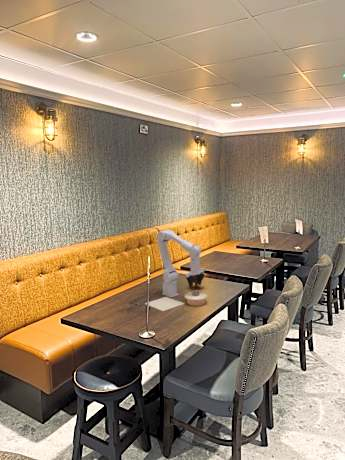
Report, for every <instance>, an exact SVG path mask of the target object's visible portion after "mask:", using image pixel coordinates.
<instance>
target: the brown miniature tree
mask: <svg viewBox="0 0 345 460" xmlns="http://www.w3.org/2000/svg"><path fill="white" fill-rule="evenodd" d="M189 272H191V270H190V271H189ZM192 277H193V278H194V280H193V284H194V286H193V287H192V289H193V290H200V289H201V287H200V285H199V286H198V281H197V275H194V276H192ZM204 277H205V276H204ZM204 277H203V279H202V281H203V280H204Z"/></svg>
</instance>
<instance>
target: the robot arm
mask: <svg viewBox="0 0 345 460" xmlns="http://www.w3.org/2000/svg"><path fill="white" fill-rule="evenodd" d="M156 237H157V246H158V250H159V252H160V256H161V260H162V263H163V267H164V270H163V272H162V274H163V278H162V279H163V282H162V293H161V295H164V296H165V297H168V298H173V297H176V296H179V295H180V293H178V292H177V291H178V289H177V288H178V285H177V283H178V282H177V281H178V280H179V277H180V276H179V275H180V274H179V273H178V271H177V269H176V268H175V267H173V264H172V263H173V262H172V259H171V256H170V252H169V249H168V245H167V244H168V242H169V241H170V240H172V241H173V242H175V243H177V244H179V245H180V247H181V248H182V249H183V250H185V251H186V252H187V253H188V254H189V258H190V271H191V272H190V271H189V272H187V273H185V279H186V280H187V284H188V286H189V288H191V289H193V287H194V286H193V285H194V282H193V280H194V278H193V277H192V276H194V275H197V281H198V284H197V285H199V286H201V285H202V281H203V280H204V278H203V277H205V270H204V269H200V267H201V266H200V264H201V262H200V257H201V256H200V255H201V253H202V248H201V247H200V246H199V245H195V244H193V243H192V242H190V240H189V239H182V238H181V237H180V236H179V235H177V234H176V232H175V231H174V230H171V229H170V228H169V229H165V230H160V231H158V233H157V234H156ZM202 279H203V280H202Z"/></svg>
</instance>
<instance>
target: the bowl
mask: <svg viewBox="0 0 345 460" xmlns="http://www.w3.org/2000/svg"><path fill="white" fill-rule="evenodd" d="M186 303H187V304H188V305H189V306H194V307H199V306H203V305H206V298H205V299H203V300H189V299H186Z"/></svg>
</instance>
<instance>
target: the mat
mask: <svg viewBox="0 0 345 460" xmlns="http://www.w3.org/2000/svg"><path fill="white" fill-rule="evenodd" d="M148 302H149V305H147V303H148ZM148 302H145V303H144V305H147V306H149V307H152V308H154V309H157V310H159V311H161V312H165V311H167V310H170V309H174V308H176V307H179V306H182V305H184V304H186V303H185V302H183V301H179V300H177V299H173V298H172V297H169V296H164V297H160V298H158V299H154V300H151V301H148Z"/></svg>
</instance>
